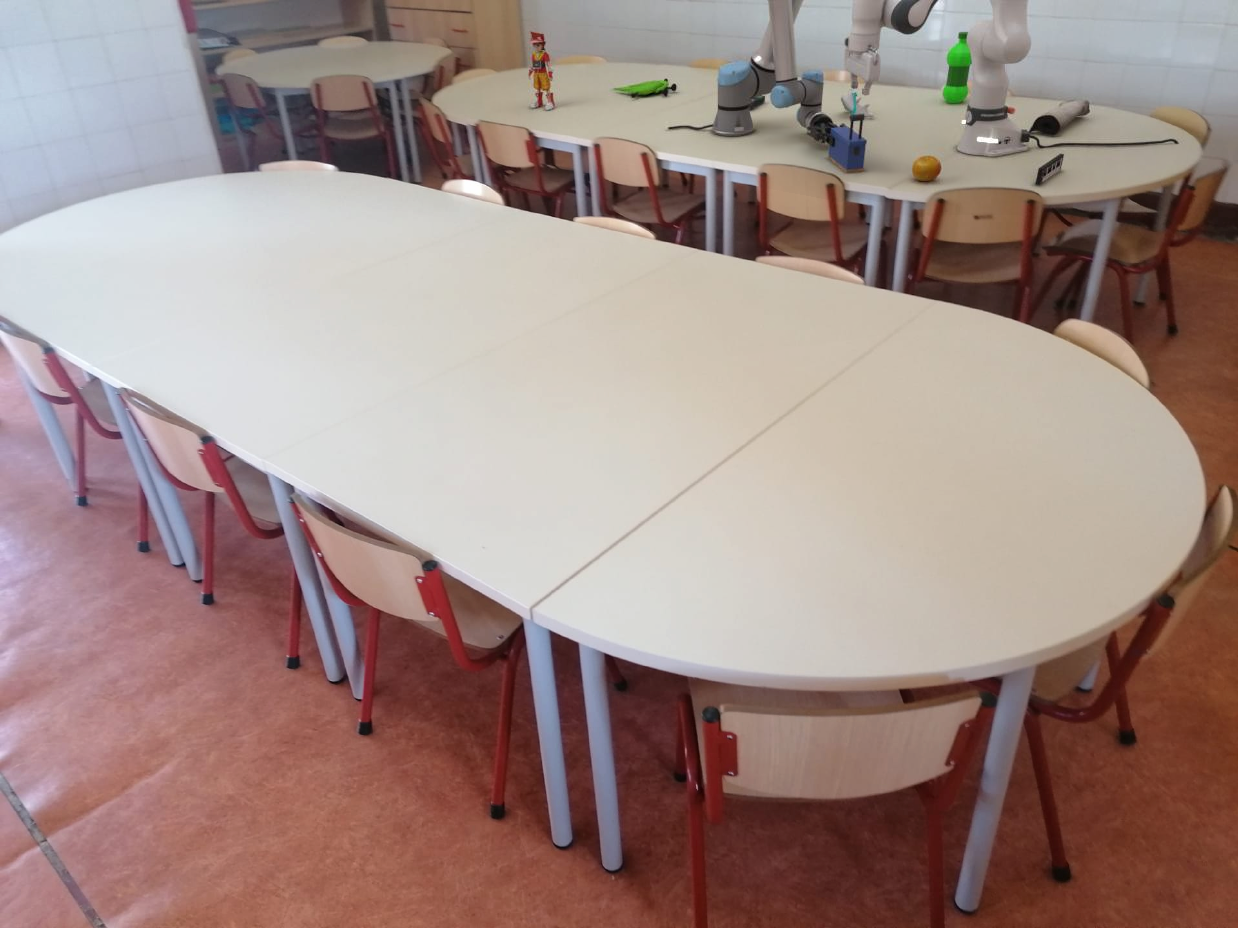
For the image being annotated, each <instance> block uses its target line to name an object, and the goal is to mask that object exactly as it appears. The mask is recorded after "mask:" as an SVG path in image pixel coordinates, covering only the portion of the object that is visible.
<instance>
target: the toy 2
mask: <svg viewBox="0 0 1238 928" xmlns="http://www.w3.org/2000/svg"><path fill="white" fill-rule="evenodd" d="M669 85H670V83H669V79H668V78H664V79H663V80H649V81H644V82H640V83H634V84H629V85H627V86H621V87H613V88H612V89H613V90H616V91H619V92H623V93H627V94H628V93H629V94H631V95H630V96H631V98H632V99H634V98H636V96H637V95H650V94H652V93H654V94H658V93H662V95H663V96H665V97H667V96H668V95H669V90H671V91H672V92H676V91H677V84H676V83H672V84H671V86H669Z"/></svg>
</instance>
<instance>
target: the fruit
mask: <svg viewBox="0 0 1238 928" xmlns="http://www.w3.org/2000/svg"><path fill="white" fill-rule="evenodd" d="M941 171H942V163H941V161H940V160H939V159H938V158H936V157H935V156H933V155H923V156H920V157H918V158H917V159H915V160H914V161H913V163H912V166H911V174H912V176H913V177H914V179H916V180H917V181H921V182H931V181H934V180H935V179H936V178H937V177H938V176H939V175H940V174H941Z"/></svg>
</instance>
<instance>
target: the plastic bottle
mask: <svg viewBox="0 0 1238 928" xmlns="http://www.w3.org/2000/svg"><path fill="white" fill-rule="evenodd" d="M968 32H969V31H959V32H958V36H957V39H958V42H957V43H956V44H954V45H953V46H952V47H951V48H950V49H949V50H948V52H947V54H946V63H947V64H948V69H947V70H948V71H947V76H946V77H947V78H946V84H945V85H944V87H943V90H942V97H943V99H944V100H945V101H946V102H947V103H948V104H960V103H961V102H963V101H964V100H966V98H967V96H968V95H969V85H968V79H969V73H970V67H971V66H972V60H971V53H970V50H969V48H968V46H967V41H966V39H967V34H968Z"/></svg>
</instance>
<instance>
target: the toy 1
mask: <svg viewBox="0 0 1238 928" xmlns="http://www.w3.org/2000/svg"><path fill="white" fill-rule="evenodd" d="M529 33H530V35H531V36H528V37H527V38H528V39H529V40H528V41H527V43H529V44H530V43H531V44H532V48H533V50H534V51H533V52H532V55H531V58H530V59H531V63H530V66H528V74H527V75H528V76H527V77H528V79H529V80H531V75H532V74H533V84H532V85H533V86H532V87H533V88H534V89H535V90H536V92H534V95H535V97H536V100H535V101H533V102H531V105H530V108H531V109H535V108H538V107H542V106H544V101H543V100H544V99H543V95H544V92H546V94H545V97H546V99H547V103H546V104H545V106H544V110H546V111H549V110H553V109H554V107H555V106H556V105H555V99H554V92H551V91H550V90H551V86H552V84H551V82H552V81H553V80H554V77H553V73H554V71H555V70H554V69H552V68H551V63H550V61H551V59H550V58H551V57H550V54H549V53H548V52H547V50H546V48H545V46H546V44H547V41H545V35H544V33H543V32H542V33H539V32H535V31H529Z"/></svg>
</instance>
